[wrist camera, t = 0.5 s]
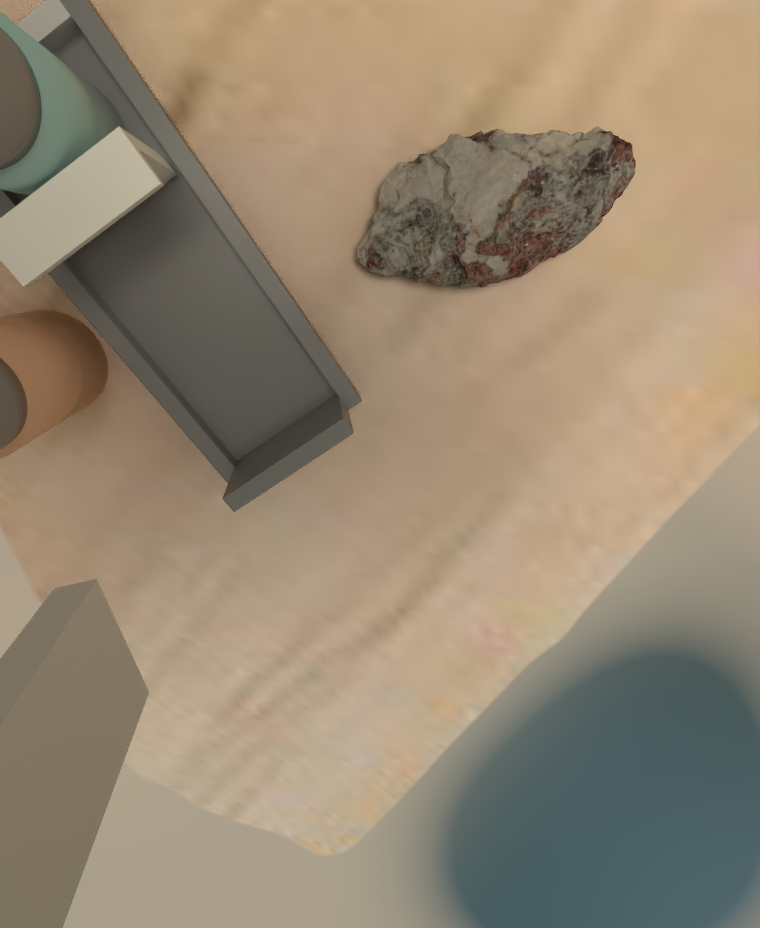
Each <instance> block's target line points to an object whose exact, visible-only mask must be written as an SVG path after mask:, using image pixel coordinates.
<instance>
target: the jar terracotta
mask: <svg viewBox="0 0 760 928" xmlns="http://www.w3.org/2000/svg"><path fill="white" fill-rule="evenodd" d="M107 373H108V365H107V359H106V355H105V352H104V350H103V348H102V345H101V344H100V342H99V340H98V339H97V338H96V336H95V335H94V334H93V333H92V332H91V331H90V330H89V329H88V328H87V327H86V326H85V325H84V324H83V323H81V322H79V321H78V320H76V319H75V318H73V317H71V316H69V315H66V314H63V313H60V312H56V311H49V310H39V311H32V312H26V313H21V314H15V315H10V316H4V317H0V458H2V457H4V456H7V455H9V454H11V453H13V452H14V451H16V450H17V449H19V448H21V447H22V446H24V445H25V444H27V443H28V442H30V441H31V440H33V439H35V438H36V437H38V436H39V435H41V434H42V433H44V432H46V431H47V430H49V429H50V428H52V427H53V426H55V425H56V424H58V423H60V422H61V421H63V420H64V419H66V418H67V417H69V416H71V415H72V414H74V413H75V412H77V411H78V410H80V409H81V408H83V407H85V406H86V405H88V404H89V403H91V402H92V401H93V400H94V399H96V398H97V396H98V395H99V394H100V393H101V391H102V390H103V388H104V385H105V383H106V379H107Z"/></svg>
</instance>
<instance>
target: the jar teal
mask: <svg viewBox="0 0 760 928" xmlns="http://www.w3.org/2000/svg"><path fill="white" fill-rule="evenodd" d="M117 127H121V128H122V129H124V130H125V131H126V129H125V126H124V123H123V121H122V119H121V117H120V115H119V113H118V112H117V110H116V109H115V107H114V106H113V105H112V103H111V102H110V101H109V100H108V99H107V98H106V97H105V96H104V95H103V94H102V93H101V92H100V91H99V90H98V89H96V88H95V87H94V86H93V85H91V84H90V83H89V82H88V81H86V80H85V79H84V78H83V77H81V76H80V75H79V74H78V73H76V72H75V71H74V70H73V69H71V68H70V67H69V66H68V65H66V64H65V63H64V62H62V61H61V60H60V59H59V58H57V57H56V56H55V55H54V54H52V53H51V52H50V51H49V50H47V49H46V48H45V47H44V46H42V45H41V44H40V43H39V42H37V41H36V40H35V39H34V38H32V37H31V36H30V35H28V34H27V33H26V32H25V31H23V30H22V29H21V28H20V27H18V26H17V25H16V24H15V23H13V22H12V21H11V20H10V19H8V18H7V17H6V16H5V15H3V14H2V13H1V12H0V189H2V190H6V191H11V192H15V193H20V194H24V195H28V196H30V195H31V194H32V193H34V192H35V191H36V190H37V189H39V188H40V187H41V186H43V185H44V184H45V183H46V182H48V181H49V180H50V179H52V178H53V177H54V176H55V175H57V174H58V173H59V172H61V171H62V170H63V169H65V168H66V167H67V166H68V165H70V164H71V163H72V162H74V161H75V160H76V159H77V158H79V157H80V156H81V155H83V154H84V153H85V152H86V151H88V150H89V149H90V148H92V147H93V146H94V145H96V144H97V143H98V142H99V141H101V140H102V139H103V138H105V137H106V136H107V135H108V134H110V133H111V132H112V131H114V130H115V129H116V128H117Z"/></svg>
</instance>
